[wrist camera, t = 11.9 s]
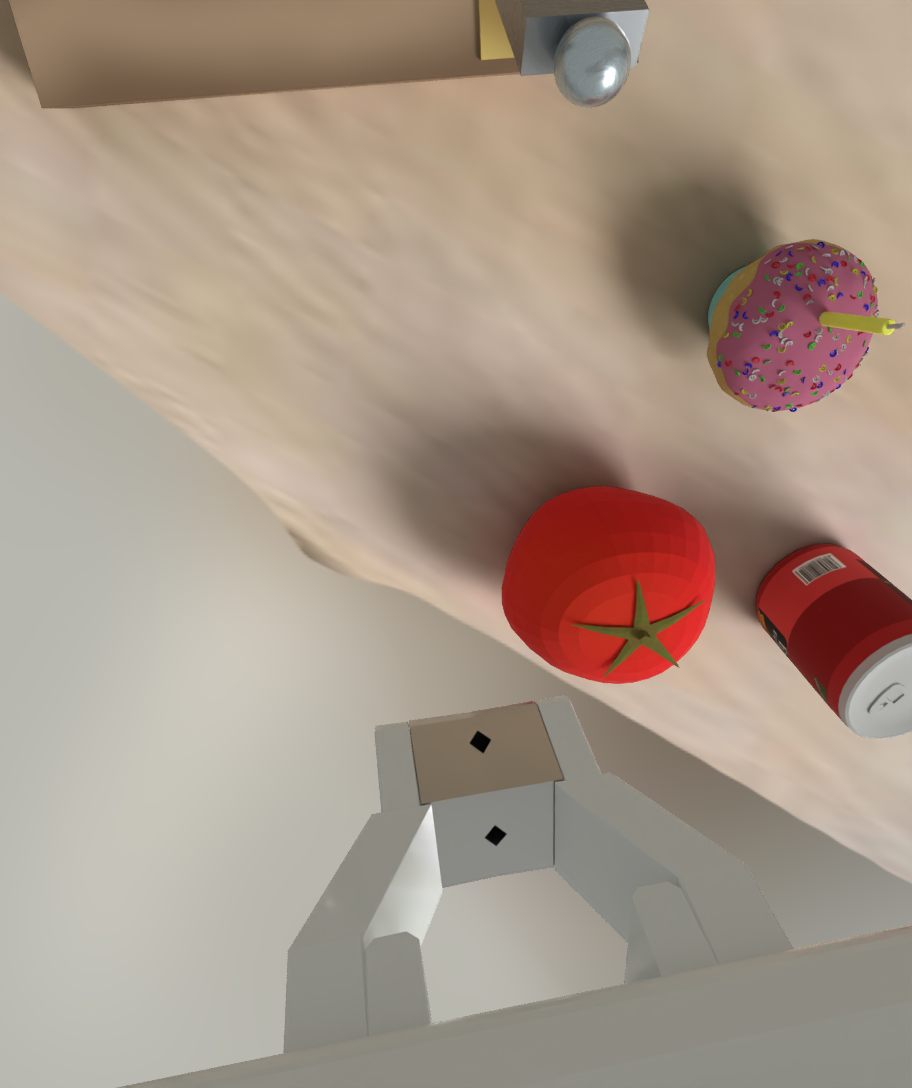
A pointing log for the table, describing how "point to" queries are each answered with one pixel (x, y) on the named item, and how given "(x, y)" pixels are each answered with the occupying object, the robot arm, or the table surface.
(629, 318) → the table surface
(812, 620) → the canned food
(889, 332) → the cupcake
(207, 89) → the switch box
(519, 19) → the grey knob lever
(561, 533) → the tomato
